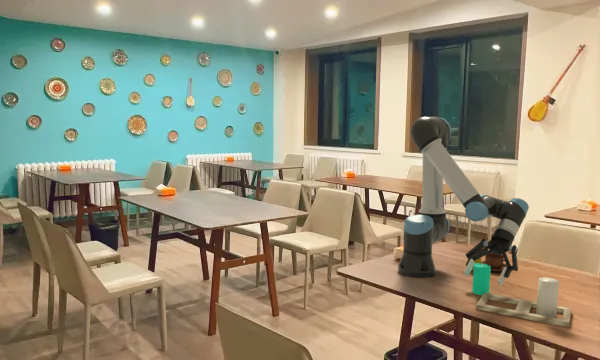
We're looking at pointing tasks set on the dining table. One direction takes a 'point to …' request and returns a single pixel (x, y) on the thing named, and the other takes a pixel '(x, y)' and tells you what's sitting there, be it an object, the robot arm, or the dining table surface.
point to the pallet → (522, 309)
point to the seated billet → (547, 297)
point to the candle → (481, 278)
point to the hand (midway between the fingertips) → (482, 279)
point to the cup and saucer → (495, 262)
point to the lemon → (477, 262)
